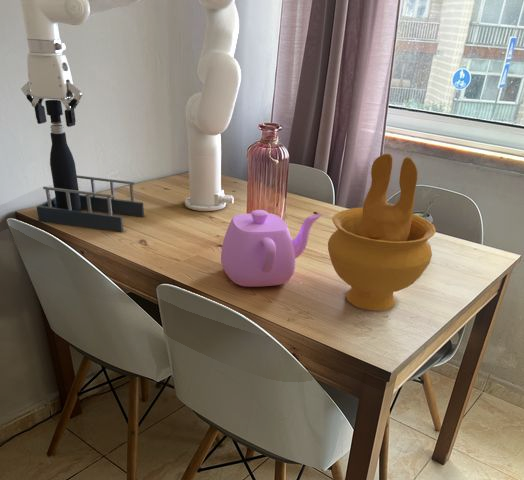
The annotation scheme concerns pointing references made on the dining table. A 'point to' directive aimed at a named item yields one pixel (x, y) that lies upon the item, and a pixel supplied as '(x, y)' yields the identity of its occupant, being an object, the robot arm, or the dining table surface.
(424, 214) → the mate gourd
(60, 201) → the dark blue bottle
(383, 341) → the dining table surface
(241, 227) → the teapot
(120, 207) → the dish rack
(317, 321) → the dining table surface
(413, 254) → the decorative bowl
